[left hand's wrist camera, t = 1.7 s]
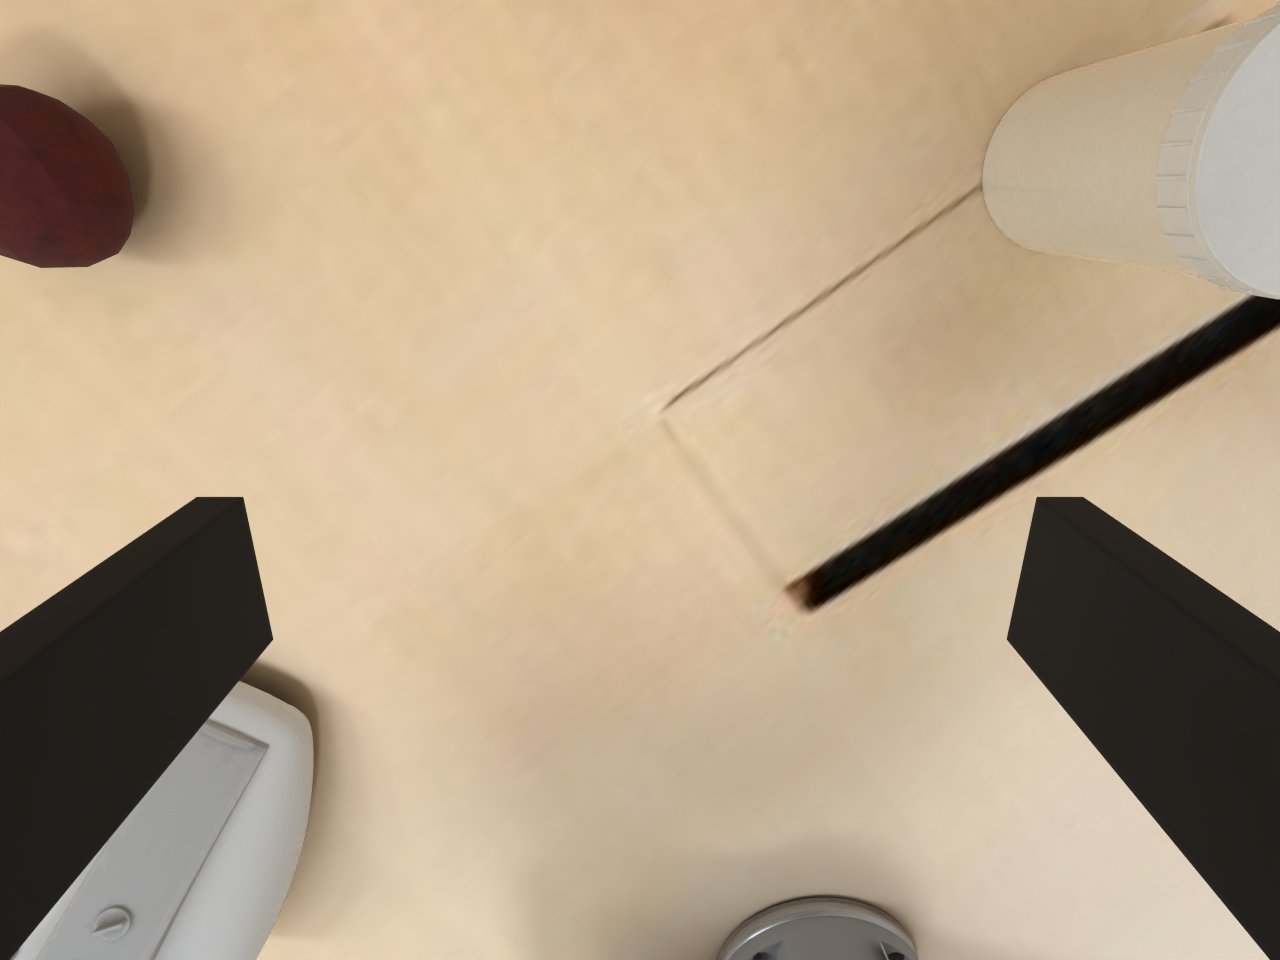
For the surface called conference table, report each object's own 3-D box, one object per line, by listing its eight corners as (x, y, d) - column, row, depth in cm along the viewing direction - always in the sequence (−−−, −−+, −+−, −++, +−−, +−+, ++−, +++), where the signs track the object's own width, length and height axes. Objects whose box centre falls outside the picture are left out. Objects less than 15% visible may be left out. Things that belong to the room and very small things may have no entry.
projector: (421, 888, 53) (345, 1128, 40) (141, 955, 56) (-20, 1202, 42) (276, 638, 46) (121, 829, 32) (-41, 728, 48) (-310, 941, 34)
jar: (1144, 241, 37) (1446, 269, 23) (978, 264, 38) (1177, 305, 24) (1164, 56, 34) (1523, -38, 20) (984, 83, 35) (1215, 9, 21)
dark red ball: (78, 61, 34) (-55, 30, 28) (201, 209, 37) (105, 213, 30) (-25, 158, 36) (-175, 150, 29) (99, 294, 38) (-14, 315, 31)
